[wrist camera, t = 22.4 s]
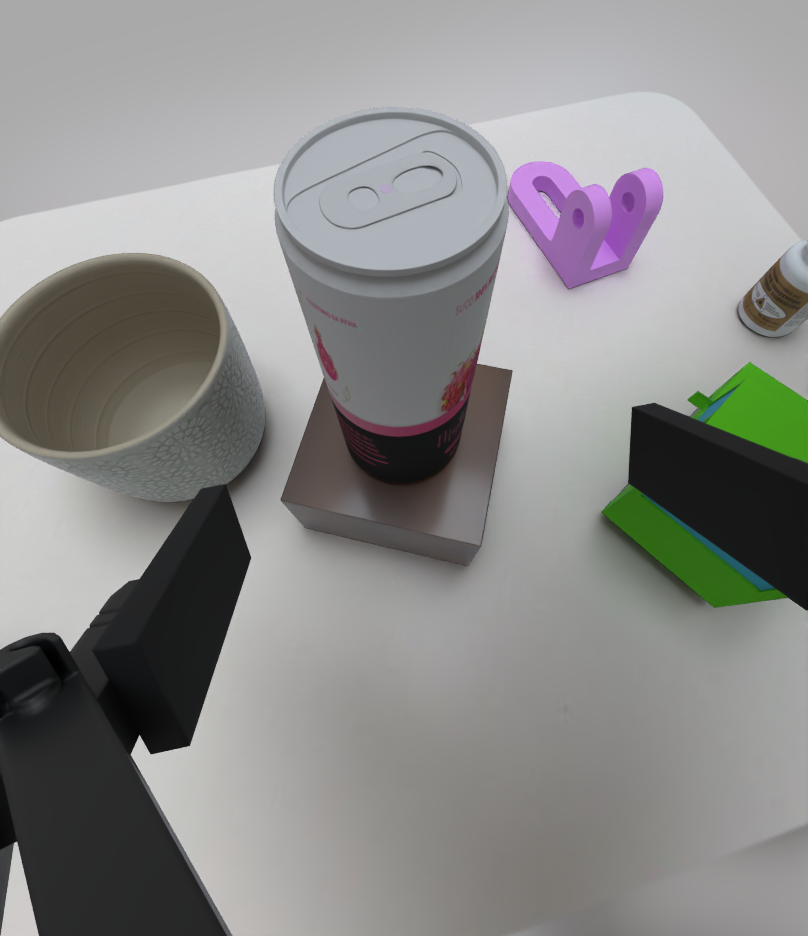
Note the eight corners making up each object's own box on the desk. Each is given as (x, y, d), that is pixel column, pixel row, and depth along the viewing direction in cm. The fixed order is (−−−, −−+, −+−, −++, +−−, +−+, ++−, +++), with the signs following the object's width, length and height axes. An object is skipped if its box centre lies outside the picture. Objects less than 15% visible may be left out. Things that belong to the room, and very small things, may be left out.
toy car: (825, 478, 31) (1004, 404, 21) (717, 622, 28) (871, 608, 18) (694, 385, 34) (801, 285, 24) (581, 506, 30) (655, 443, 21)
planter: (84, 424, 33) (-58, 326, 23) (233, 339, 36) (163, 218, 26) (156, 559, 30) (23, 512, 20) (317, 454, 32) (272, 364, 22)
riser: (496, 417, 33) (512, 370, 27) (468, 566, 29) (480, 546, 24) (350, 388, 34) (337, 337, 29) (304, 527, 30) (280, 500, 25)
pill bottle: (724, 303, 36) (801, 218, 29) (771, 287, 37) (858, 200, 30) (758, 346, 35) (848, 267, 28) (807, 329, 35) (907, 247, 28)
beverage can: (481, 456, 25) (562, 220, 11) (373, 505, 24) (319, 312, 10) (428, 367, 28) (443, 78, 14) (328, 408, 27) (235, 144, 13)
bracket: (627, 268, 38) (671, 189, 31) (568, 288, 37) (601, 212, 31) (551, 169, 42) (575, 83, 36) (497, 186, 42) (512, 101, 35)
